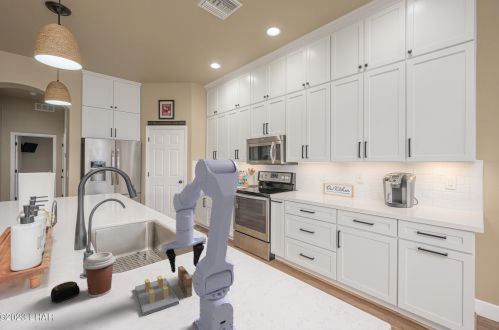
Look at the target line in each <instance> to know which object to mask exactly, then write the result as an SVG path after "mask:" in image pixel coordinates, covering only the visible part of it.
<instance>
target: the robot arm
mask: <svg viewBox="0 0 499 330" xmlns="http://www.w3.org/2000/svg"><path fill="white" fill-rule="evenodd" d="M194 175H195V176H194V178H193V180H192V181H189V182H187V184H186V185H185V186H184V188H183V189H182V191H180V193H179V192H177V193H176V192H175V193H174V195H173V198H172V199H173V200H172V203H173V204H172V205H173V206H172V207H173V209H174V211H175V241H170V242H168V243H165V244H161V252H162V253H165V255H166V256H167V260H168V262H169V265H170V269H171V271H170V272H171V273H176V257H177V254H176V251H175V250H179V249H183V248H190V247H192V250H193V251H192V252H193V253H192V254H193V257H192V258H193V266H194V267H195V270H194V272H193V275H192V289H193V291H194V293H195V294H196V296H198V297H199V317H197V318H195V319H194V320H193V321H194V322H193V323H194V324H195V326H196V328H197V329H198V330H237V328H236V327H235V325H234V307H233V305H232V303H231V301H230V300H229V297H228V292H230V290H231V289H230V288H231V286H233V284H234V281H235V272H234V271H235V270H234V268H235V267H234V266H235V265H234V262H233V261H232V259H231V258H230V257H228V256H227V253H228V246H229V245H228V244H229V238H230V231H231V225H232V217H233V210H234V203H235V195H236V193H237V191H238V186H239V185H238V183H239V179H240V178H239V177H240V170H239V167H238V165H237V163H236V161H235V160H234V159H230V158H228V159H205V158H204V159H203V158H199V159H198V161H197V162H196V164H195V166H194ZM203 194H204V195H205V196H207V197H209V198H211V200H212V201H211V209H210V217H209V226H208V232H209V233H208V232H207V233H208V237H204V236H201V237H194V215H195V214H196V209H197V203H198V202H197V201H198V200H199V199H200V198H201V197H202V195H203ZM204 245H206V251H205V255H204V256H203V258H201V256H202V254H203V251H204V249H205V246H204ZM200 258H201V259H200Z"/></svg>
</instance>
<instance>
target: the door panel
mask: <svg viewBox="0 0 499 330" xmlns="http://www.w3.org/2000/svg"><path fill="white" fill-rule="evenodd" d="M192 278H193V276H191V275H190V273H189V272H188V271H187V269H186V268H185V267H184V266H183V265H181V266H180V265H179V266H177V284H178V286H179V287H180V288H181V290H182V291H183V293H184V294H185V296H186V297H187V298H189V297H192V296H193V282H192Z"/></svg>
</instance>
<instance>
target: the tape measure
mask: <svg viewBox="0 0 499 330" xmlns="http://www.w3.org/2000/svg"><path fill="white" fill-rule="evenodd" d="M80 293H81V289H80V286H79V285H78V283H77V282H76V281H72V280H71V281H65V282H62V283H59V284H57V285H55V286H54V287H53V288H51V290H50V299H51V302H52V303H59V302H62V301H65V300H67V299H71V298H73V297H76V296H80Z"/></svg>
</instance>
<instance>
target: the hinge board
mask: <svg viewBox="0 0 499 330" xmlns="http://www.w3.org/2000/svg"><path fill="white" fill-rule="evenodd" d="M135 292H136V293H135V294H136V296H137V299H138V302H139V303H138V304H139V306H140V309H141V313H142V315H143V317H144V316H147V315H151V314H153V313H156V312H160V311H162V310H163V311H164V310H165V309H168V308H171V307H174V306H177V305H179V304H180V300H179V298H178V296H177V295H176V293H175V291H174V290H173V288H172V286H171V284H170V283H169V281H168V279H167V278H166V277H165V278H163V276H162V275H158V276H157V280H154V281H150V279H149V278H147V279H144V283H143V284H139V285H136V286H135Z"/></svg>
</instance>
